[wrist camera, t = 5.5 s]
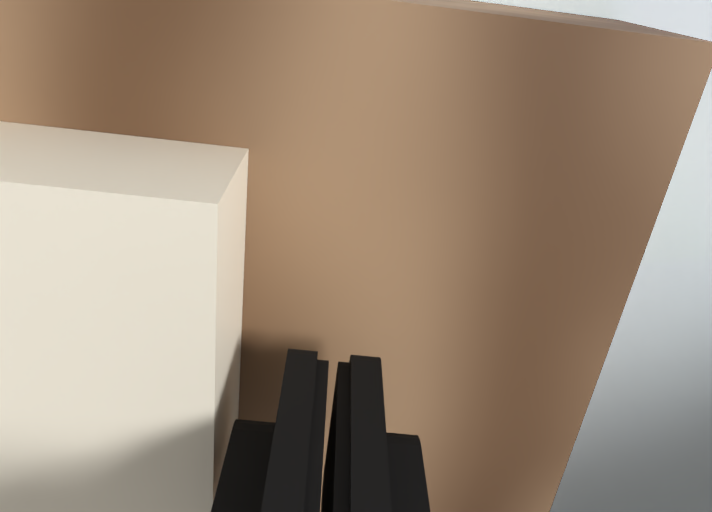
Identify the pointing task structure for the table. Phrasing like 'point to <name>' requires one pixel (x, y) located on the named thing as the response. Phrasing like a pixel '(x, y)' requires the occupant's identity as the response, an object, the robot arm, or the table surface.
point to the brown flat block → (403, 193)
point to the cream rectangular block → (117, 319)
